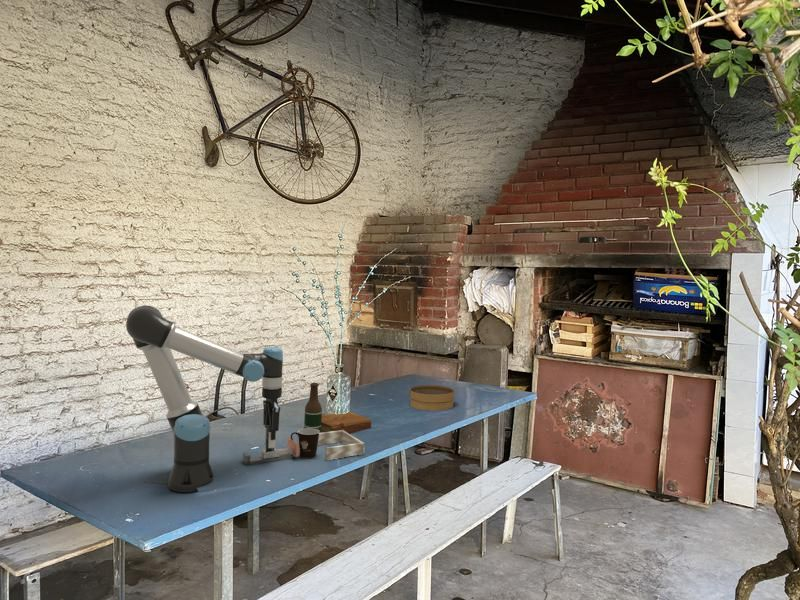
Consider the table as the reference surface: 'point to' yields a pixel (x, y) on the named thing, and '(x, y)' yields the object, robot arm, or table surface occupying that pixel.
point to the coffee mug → (307, 442)
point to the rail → (260, 459)
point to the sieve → (431, 397)
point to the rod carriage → (274, 452)
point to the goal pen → (349, 449)
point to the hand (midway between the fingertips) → (270, 445)
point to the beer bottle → (313, 410)
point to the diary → (344, 422)
